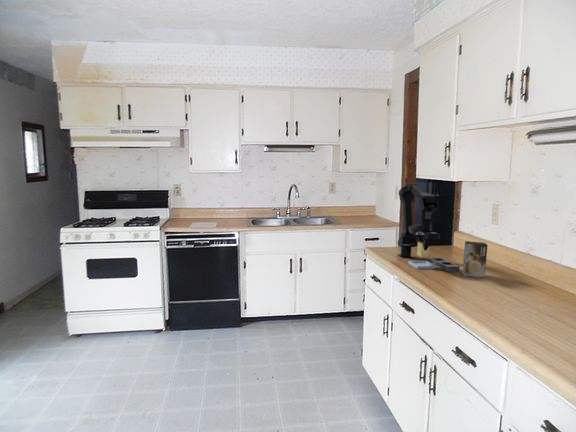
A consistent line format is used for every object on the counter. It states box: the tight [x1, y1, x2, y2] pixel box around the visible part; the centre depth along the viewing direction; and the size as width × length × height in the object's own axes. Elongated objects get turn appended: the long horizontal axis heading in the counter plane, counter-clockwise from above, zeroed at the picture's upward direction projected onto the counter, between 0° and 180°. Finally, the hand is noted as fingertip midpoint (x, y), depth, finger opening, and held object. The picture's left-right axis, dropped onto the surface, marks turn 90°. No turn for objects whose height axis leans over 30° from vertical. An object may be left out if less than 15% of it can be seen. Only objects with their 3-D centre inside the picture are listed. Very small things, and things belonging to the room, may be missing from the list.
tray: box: [408, 260, 437, 270], centre depth 204 cm, size 10×10×2 cm
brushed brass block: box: [416, 241, 430, 258], centre depth 203 cm, size 4×4×7 cm
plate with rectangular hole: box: [427, 257, 461, 273], centre depth 205 cm, size 18×7×2 cm, turn 9°
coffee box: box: [461, 240, 488, 278], centre depth 191 cm, size 9×6×16 cm
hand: (423, 249), depth 203 cm, fingers closed on brushed brass block, 4 cm apart
